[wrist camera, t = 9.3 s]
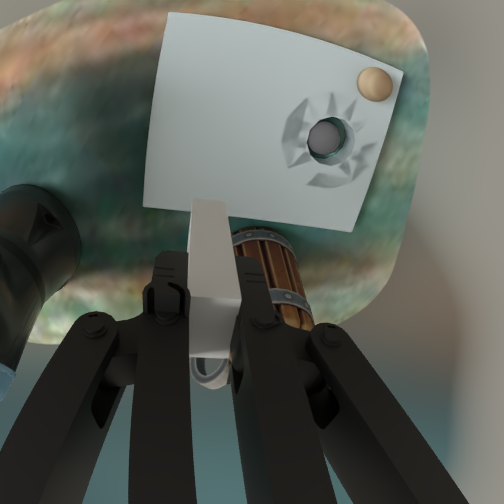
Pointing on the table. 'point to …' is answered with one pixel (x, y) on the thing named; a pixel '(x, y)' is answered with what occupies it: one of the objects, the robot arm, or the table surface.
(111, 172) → the table surface
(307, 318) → the mug
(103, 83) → the table surface
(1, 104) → the table surface
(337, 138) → the ball
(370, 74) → the cork ball
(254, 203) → the white slab
